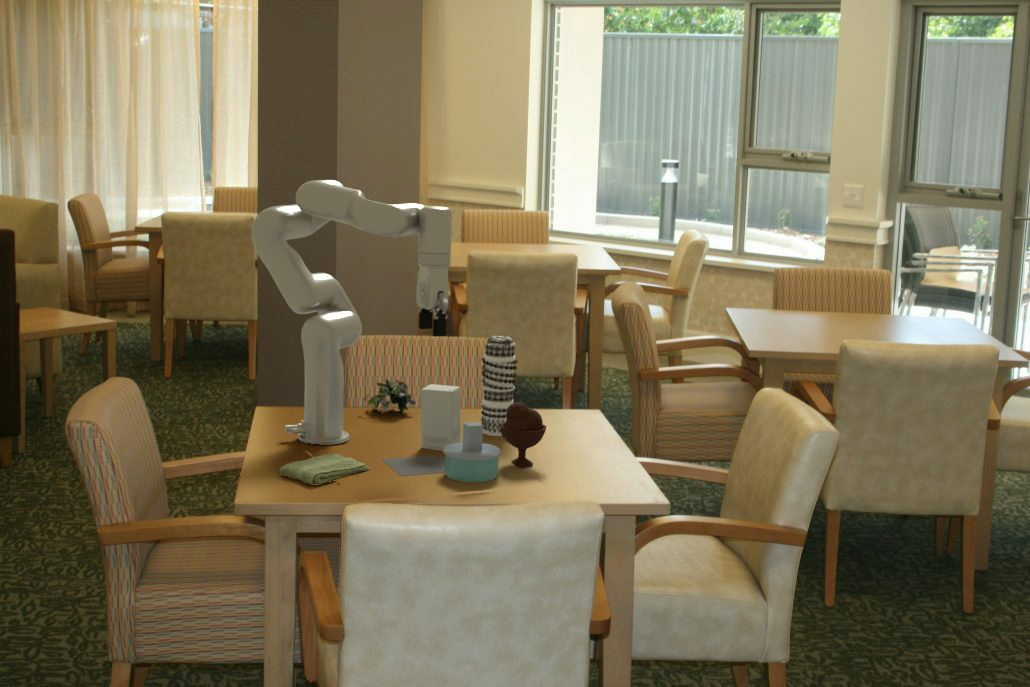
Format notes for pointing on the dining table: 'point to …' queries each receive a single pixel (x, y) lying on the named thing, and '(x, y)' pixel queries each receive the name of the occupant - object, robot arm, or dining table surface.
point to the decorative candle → (497, 382)
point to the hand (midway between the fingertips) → (432, 332)
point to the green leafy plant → (391, 395)
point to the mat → (417, 465)
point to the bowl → (471, 469)
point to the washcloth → (322, 468)
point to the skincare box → (440, 416)
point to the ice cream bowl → (522, 431)
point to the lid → (472, 445)
